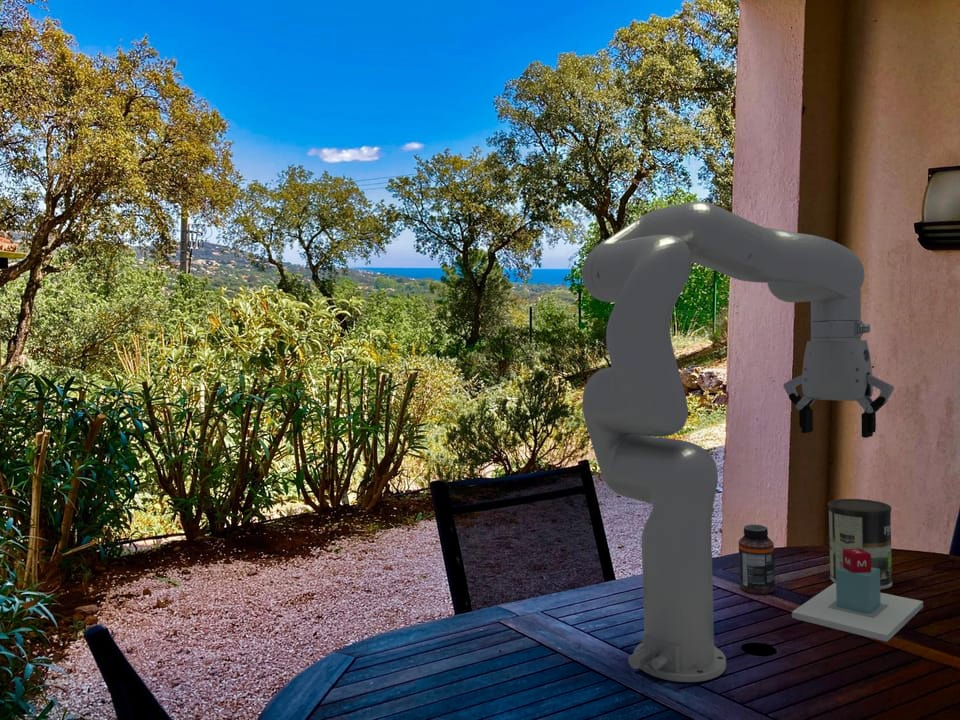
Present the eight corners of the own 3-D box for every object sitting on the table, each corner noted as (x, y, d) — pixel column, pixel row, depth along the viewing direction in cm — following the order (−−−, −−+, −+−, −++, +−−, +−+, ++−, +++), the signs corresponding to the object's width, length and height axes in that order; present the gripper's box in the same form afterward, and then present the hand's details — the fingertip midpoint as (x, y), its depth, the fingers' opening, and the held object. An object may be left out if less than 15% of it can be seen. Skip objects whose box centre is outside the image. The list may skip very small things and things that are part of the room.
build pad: (887, 641, 108) (886, 634, 108) (791, 618, 119) (791, 611, 118) (923, 607, 121) (922, 600, 121) (834, 588, 131) (834, 582, 131)
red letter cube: (842, 567, 121) (842, 549, 121) (860, 566, 121) (860, 548, 121) (853, 573, 118) (852, 554, 118) (871, 572, 118) (870, 553, 118)
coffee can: (890, 575, 137) (889, 500, 136) (894, 593, 128) (893, 513, 127) (829, 569, 141) (827, 496, 141) (829, 586, 132) (827, 508, 132)
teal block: (880, 605, 120) (879, 568, 119) (869, 614, 116) (868, 576, 116) (848, 598, 123) (847, 562, 123) (836, 606, 120) (835, 570, 120)
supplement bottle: (745, 581, 136) (743, 521, 136) (778, 587, 133) (777, 525, 132) (735, 591, 131) (733, 528, 131) (770, 597, 128) (768, 533, 127)
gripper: (900, 331, 119) (900, 436, 119) (793, 333, 132) (794, 428, 132) (884, 331, 114) (885, 441, 114) (774, 333, 126) (775, 433, 127)
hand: (836, 434), depth 123 cm, fingers open, 9 cm apart
